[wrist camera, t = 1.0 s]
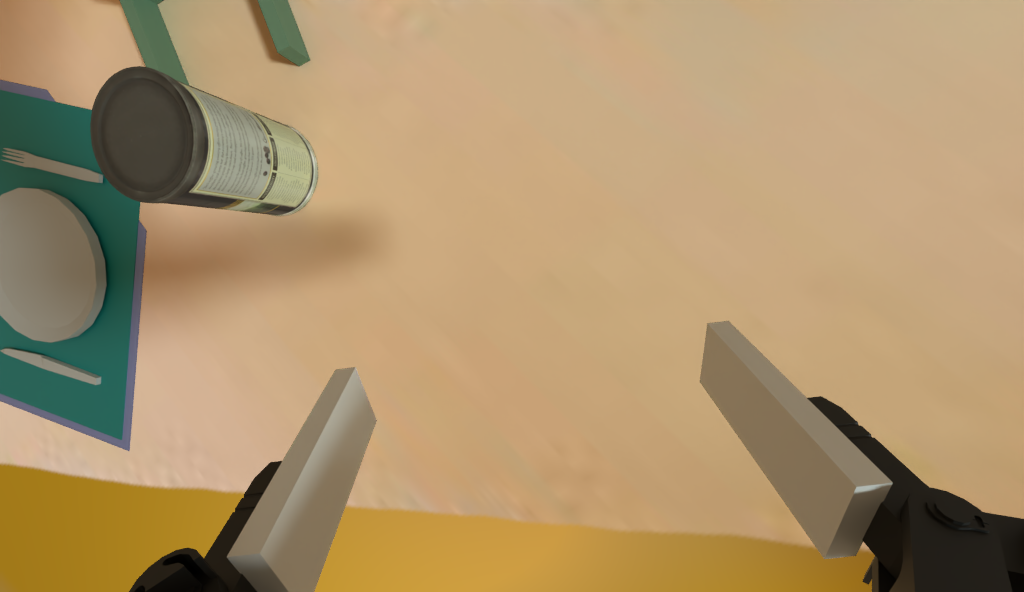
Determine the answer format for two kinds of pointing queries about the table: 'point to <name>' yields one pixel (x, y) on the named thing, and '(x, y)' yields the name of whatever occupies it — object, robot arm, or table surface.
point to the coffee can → (196, 148)
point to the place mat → (65, 271)
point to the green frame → (160, 50)
